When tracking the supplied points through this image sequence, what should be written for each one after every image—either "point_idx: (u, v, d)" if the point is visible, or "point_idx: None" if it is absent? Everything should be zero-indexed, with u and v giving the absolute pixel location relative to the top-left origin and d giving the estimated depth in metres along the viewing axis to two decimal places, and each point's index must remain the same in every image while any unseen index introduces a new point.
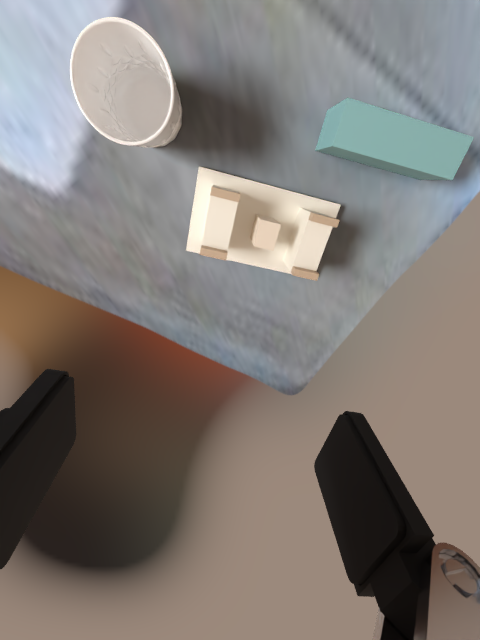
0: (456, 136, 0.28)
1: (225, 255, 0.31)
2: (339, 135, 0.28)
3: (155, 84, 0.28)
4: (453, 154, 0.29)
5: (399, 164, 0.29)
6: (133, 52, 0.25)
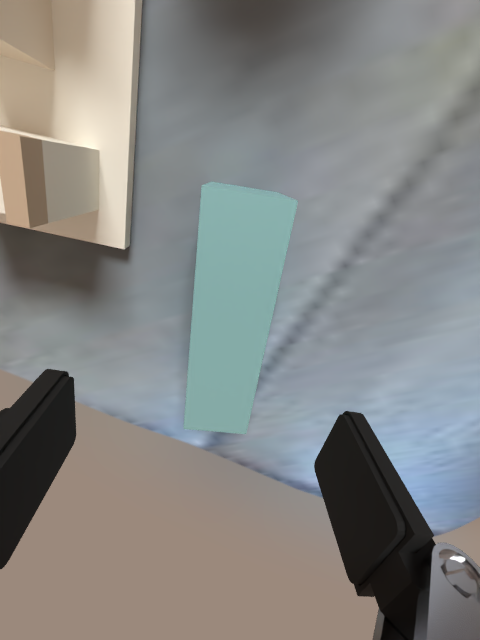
0: (245, 412, 0.17)
1: None
2: (225, 199, 0.12)
3: None
4: (219, 417, 0.17)
5: (191, 343, 0.15)
6: None
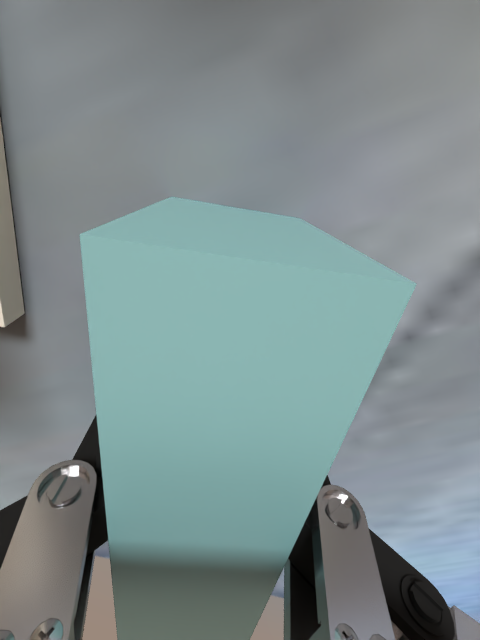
0: None
1: None
2: (171, 278, 0.03)
3: None
4: None
5: (115, 568, 0.06)
6: None
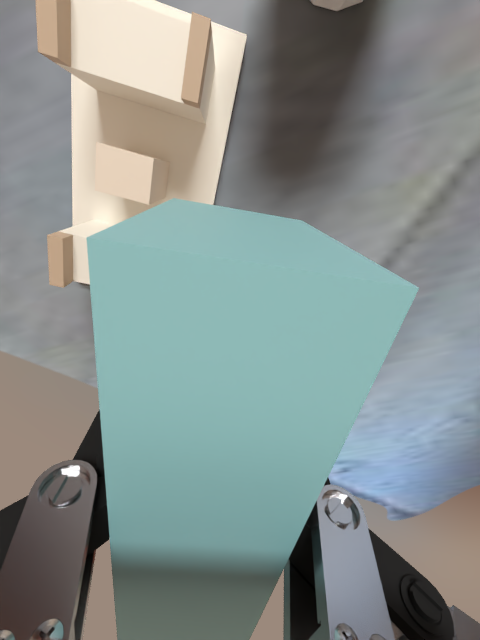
0: None
1: (51, 50, 0.12)
2: (177, 281, 0.03)
3: None
4: None
5: (116, 569, 0.06)
6: None
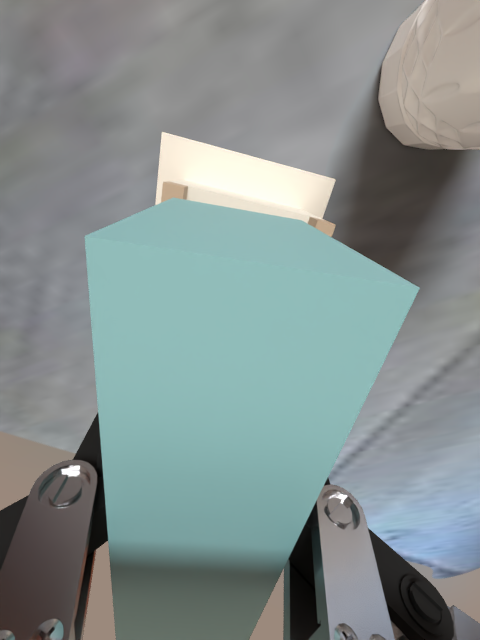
0: None
1: None
2: (175, 281, 0.03)
3: None
4: None
5: (114, 569, 0.06)
6: None
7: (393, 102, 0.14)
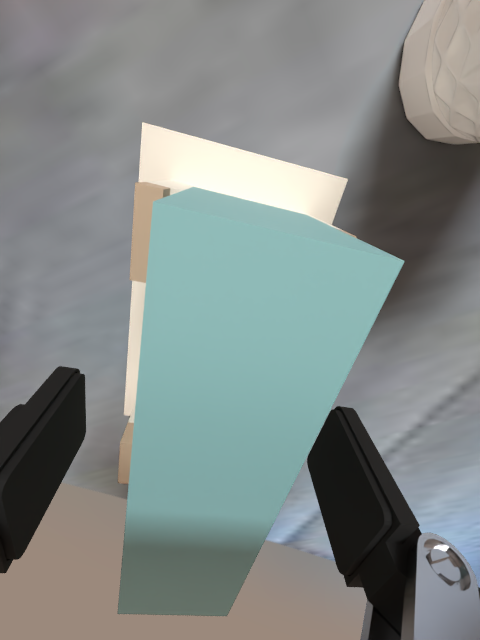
0: (228, 594, 0.10)
1: None
2: (217, 243, 0.04)
3: None
4: (182, 599, 0.10)
5: (129, 509, 0.07)
6: None
7: (419, 87, 0.12)
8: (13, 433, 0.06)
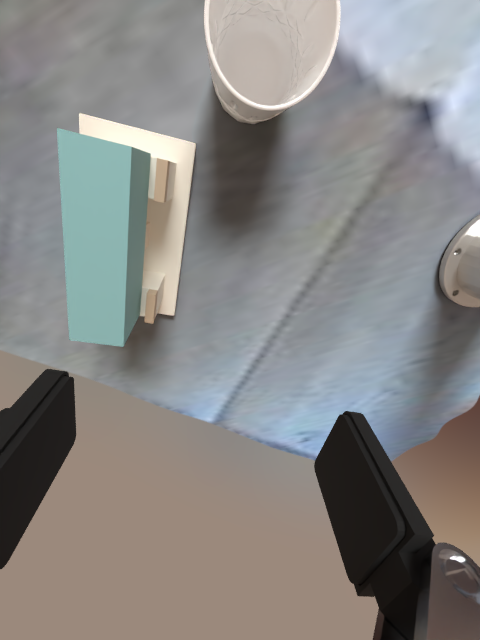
0: (120, 326, 0.22)
1: None
2: (76, 140, 0.16)
3: (276, 87, 0.24)
4: (98, 329, 0.22)
5: (66, 259, 0.19)
6: (305, 57, 0.20)
7: None
8: None
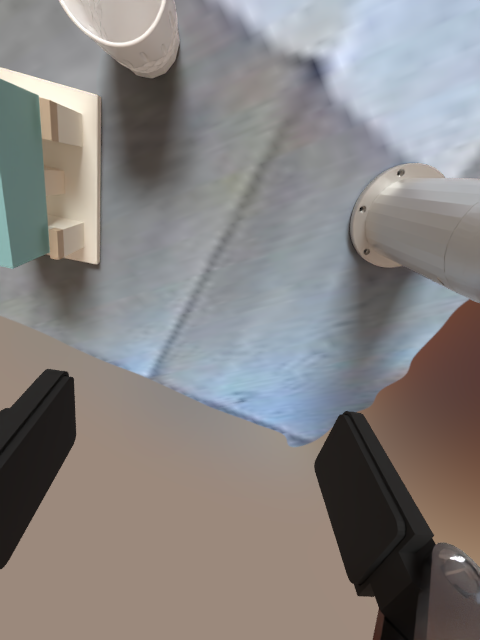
0: (6, 247, 0.24)
1: None
2: None
3: None
4: None
5: None
6: None
7: None
8: None
